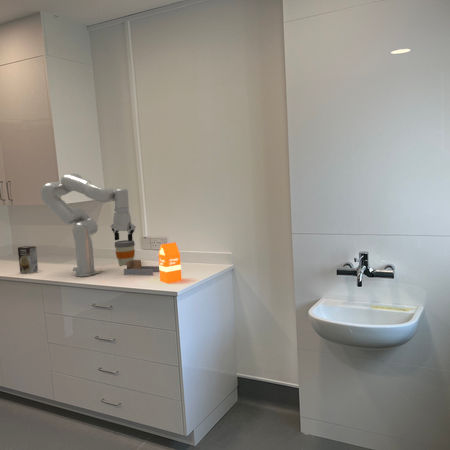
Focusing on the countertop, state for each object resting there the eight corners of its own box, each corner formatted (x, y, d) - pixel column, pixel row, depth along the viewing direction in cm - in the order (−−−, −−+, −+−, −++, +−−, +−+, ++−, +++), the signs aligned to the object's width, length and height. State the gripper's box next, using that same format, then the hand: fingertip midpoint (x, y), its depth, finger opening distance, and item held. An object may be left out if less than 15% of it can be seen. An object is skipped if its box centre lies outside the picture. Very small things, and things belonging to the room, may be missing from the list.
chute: (124, 275, 265) (123, 269, 265) (132, 272, 274) (132, 265, 273) (152, 276, 259) (151, 269, 258) (160, 273, 267) (159, 266, 267)
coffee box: (19, 273, 289) (17, 247, 287) (27, 271, 295) (24, 245, 293) (31, 273, 285) (28, 247, 284) (38, 271, 291) (36, 245, 290)
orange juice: (181, 280, 246) (179, 243, 244) (167, 283, 241) (164, 245, 239) (174, 278, 253) (172, 241, 250) (160, 281, 248) (157, 243, 245)
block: (127, 273, 266) (126, 261, 265) (132, 271, 272) (131, 259, 271) (136, 274, 264) (135, 262, 263) (141, 271, 270) (140, 259, 269)
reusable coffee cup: (139, 262, 303) (137, 239, 302) (131, 266, 291) (130, 242, 289) (120, 263, 306) (119, 240, 304) (112, 267, 293) (111, 243, 292)
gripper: (105, 210, 266) (107, 240, 268) (129, 211, 257) (131, 242, 259) (114, 209, 272) (116, 238, 274) (138, 210, 264) (139, 240, 266)
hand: (123, 240), depth 267 cm, fingers open, 9 cm apart
